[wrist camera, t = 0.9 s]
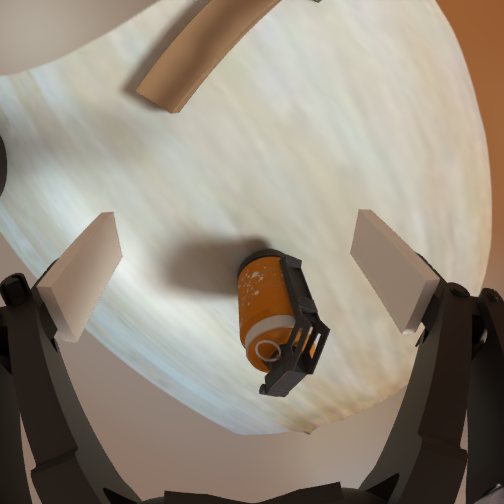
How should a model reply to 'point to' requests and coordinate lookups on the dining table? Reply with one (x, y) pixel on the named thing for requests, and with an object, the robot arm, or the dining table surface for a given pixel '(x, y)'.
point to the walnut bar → (200, 50)
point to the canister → (278, 320)
